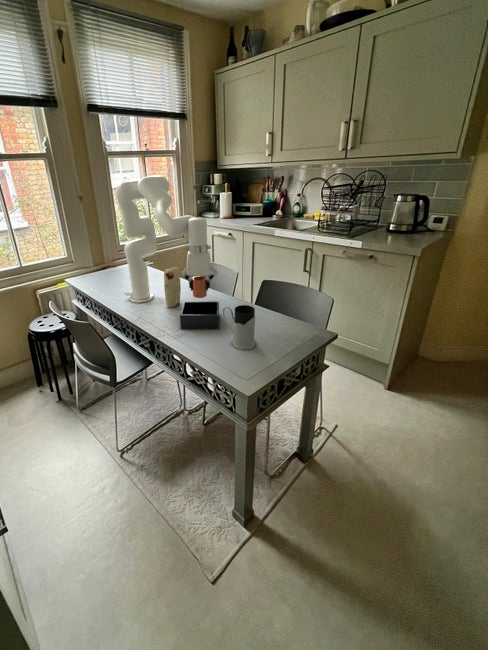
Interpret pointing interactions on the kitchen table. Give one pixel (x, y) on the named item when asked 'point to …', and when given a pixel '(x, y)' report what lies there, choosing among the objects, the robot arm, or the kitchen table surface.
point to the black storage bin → (200, 315)
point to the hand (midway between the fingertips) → (199, 289)
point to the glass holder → (243, 326)
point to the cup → (199, 286)
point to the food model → (172, 286)
